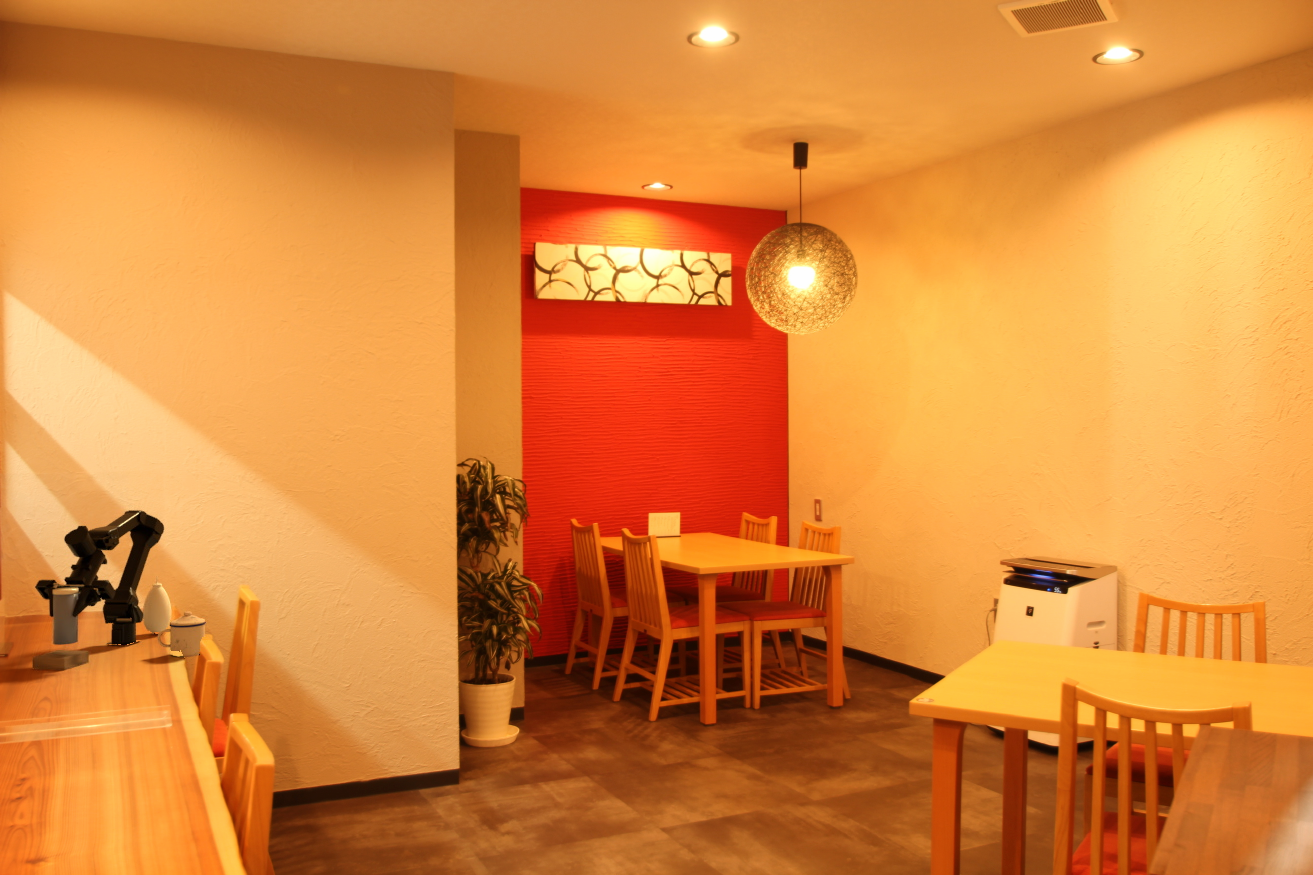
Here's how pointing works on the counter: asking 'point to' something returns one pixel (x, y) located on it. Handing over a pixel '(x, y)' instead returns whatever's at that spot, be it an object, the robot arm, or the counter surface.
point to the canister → (65, 615)
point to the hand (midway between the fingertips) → (62, 616)
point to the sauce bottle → (156, 609)
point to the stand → (60, 660)
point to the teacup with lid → (185, 634)
